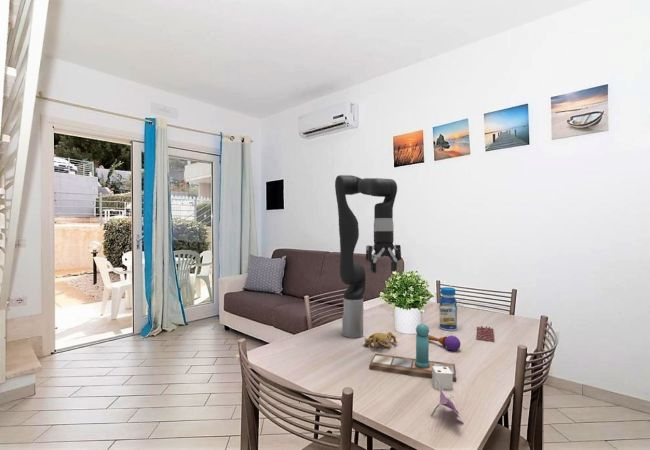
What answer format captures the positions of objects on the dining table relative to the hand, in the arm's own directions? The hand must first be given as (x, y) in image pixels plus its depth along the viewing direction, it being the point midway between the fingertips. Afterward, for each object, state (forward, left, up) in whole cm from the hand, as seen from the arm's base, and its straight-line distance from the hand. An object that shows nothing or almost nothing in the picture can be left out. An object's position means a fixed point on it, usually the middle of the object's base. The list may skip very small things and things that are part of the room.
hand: (383, 272), depth 124 cm
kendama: (+19, +22, -34) cm, 44 cm away
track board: (+11, -6, -33) cm, 35 cm away
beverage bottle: (+24, +47, -33) cm, 62 cm away
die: (+21, -15, -33) cm, 42 cm away
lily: (+22, -33, -33) cm, 52 cm away
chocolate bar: (+40, +43, -34) cm, 68 cm away
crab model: (-4, +13, -34) cm, 36 cm away
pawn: (+14, -6, -31) cm, 35 cm away
